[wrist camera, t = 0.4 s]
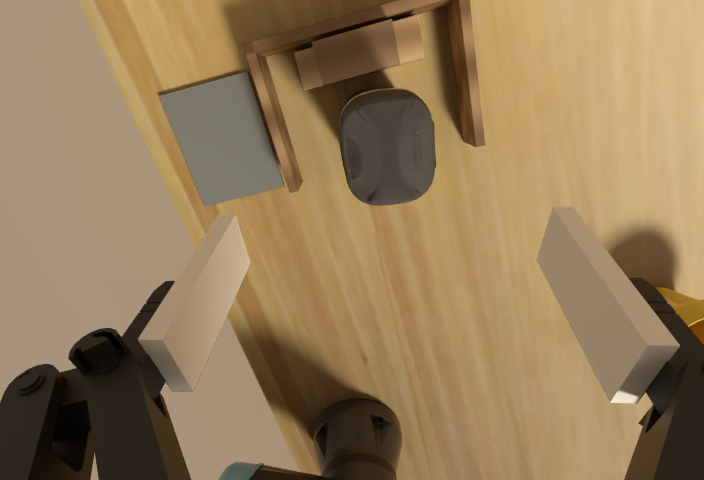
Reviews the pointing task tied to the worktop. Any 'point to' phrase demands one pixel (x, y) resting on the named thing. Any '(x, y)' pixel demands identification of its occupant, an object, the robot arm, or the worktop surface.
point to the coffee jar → (387, 145)
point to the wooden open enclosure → (407, 5)
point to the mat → (223, 138)
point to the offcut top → (356, 52)
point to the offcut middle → (408, 39)
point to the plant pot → (687, 310)
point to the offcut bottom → (309, 68)
